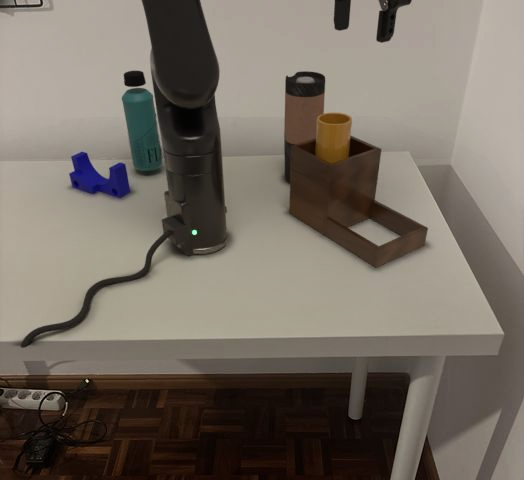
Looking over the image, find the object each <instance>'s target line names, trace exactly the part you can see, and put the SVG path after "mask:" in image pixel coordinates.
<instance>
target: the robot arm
mask: <svg viewBox="0 0 524 480" xmlns="http://www.w3.org/2000/svg"><path fill="white" fill-rule="evenodd" d="M201 1H202V0H141V3H142V7H143V11H144V15H145V20H146V25H147V30H148V35H149V41H150V46H151V48H150V54H149V66H150V74H151V82H152V89H153V97H154V104H155V111H156V119H157V122H158V123H157V125H158V130H159V133H160V134H159V135H160V139H161V148H162V154H163V161H164V167H165V176H166V183H167V190H165V191H164V193H163V196H164V204H165V210H166V211H165V212H166V217H164V218H162V219H161V226H162V234H161V235H160V236H159V237H158V238H157V239H156V240H155V241H154V242H153V243H152V245H151V246H150V247H149V249H148V251H147V252H146V255H145V261H144V266H143V267H142V269H141V270H139V271H138V272H136V273H134V274H130V275H125V276H116V277H109V278H104V279H101V280H99V281H96V282H94V284H93V285H91V286H90V287H89V288H88V290H87V291H86V293H85V296H84V299H83V303H82V307H81V309H80V311H79V312H78V313H77V314H76V315H75V316H74V317H73V318H71V319H70V320H67V321H64V322H59V323H52V324H51V323H50V324H46V325H42V326H39V327H37V328H35V329H32V331H30V332H29V333H28V334H27V335H26V336H25V337H24V338H23V340H22V342H21V343H20V348H22V349H24V348H27V347H28V346H29V345H30V343H32V341H33V340H34V339H35V338H36V337H38V336H40V335H43V334H45V333H50V332H56V331H62V330H65V329H69V328H71V327H74V326H76V325H77V324H79V323H80V322H81V321H83V319H85V317H86V315H87V314H88V312H89V309H90V306H91V302H92V297H93V296H94V294H95V293H96V292H97V291H98V290H100V289H101V288H103V287H105V286H108V285H114V284H115V285H116V284H122V283H127V282H132V281H136V280H139V279H141V278H142V277H144V276H145V275H146V274H147V273H148V272H149V271H150V269H151V267H152V260H153V257H154V254H155V253H156V251H157V249H159V247H160V246H161V245H162V244H163V243H164V242H166V240H167V239H168V240H169V241H170V242H171V244H173V245H174V246H175V247H176V248H177V249H178V250H180V252H181V253H182V254H184V255H185V256H187V257H190V256H192V255H207V254H211V253H214V252H218V251H219V250H222V249H223V248H224V247H225V246H226V245H227V244H228V241H229V236H228V227H227V214H228V210H227V209H228V207H227V206H226V197H225V180H224V164H223V149H222V134H221V131H222V130H221V126H220V121H219V116H218V111H217V104H216V92H217V89H218V86H219V81H220V72H221V71H220V70H221V69H220V63H219V60H218V56H217V53H216V50H215V47H214V43H213V41H212V37H211V34H210V30H209V27H208V24H207V20H206V17H205V13H204V10H203V6H202V2H201ZM411 3H412V0H378V4H379V6H380V9H381V10H379V11H378V12H379V13H378V20H377V27H376V28H377V29H376V35H375V36H376V38H375V40H376V42H378V43H380V44H382V43H388V42H390V41H391V40H392V38H393V37H394V34H395V29H396V21H397V14H398V9H400V8H402V7H405V6H409V5H411ZM351 4H352V0H334V9H333V24H334V25H333V27H334V28H333V29H334V30H336V31H338V32H339V31H345V30H348V29H349V27H350V17H351Z"/></svg>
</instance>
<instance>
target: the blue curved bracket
mask: <svg viewBox="0 0 524 480" xmlns="http://www.w3.org/2000/svg"><path fill="white" fill-rule="evenodd" d="M70 158H71V162H72V165H73V171H71V172H69V173H68V174H69V178H70V179H69V180H70V182H71V186H72V188H73V189H76V190H80V191H81V192H82V191H83V192H86V193H89V194H91V195H94V194H97V193H98V192H100V193H103V194H106V195H109V196H111V197H112V196H113V197H115V198H118V199H121V198H123V197H125V196H127V195H128V194H130V193H131V186H130V181H129V176H128V170H127V164H126V163H124V162H121V161H119V162H117V163H116V164H114V165H112V166H110V167H108V170H109V171H108V172H109V176H108V178H106V177H104V176H103V175H101V174H100V173H99V172H98V171H97V170H96V168H95V167H94V165H93V164H92V162H91V160H90V158H89V154H88V152H87V151H86V152H85V151H80V152H77V153H76V154H73V155H71V156H70Z"/></svg>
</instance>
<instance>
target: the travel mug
mask: <svg viewBox="0 0 524 480" xmlns="http://www.w3.org/2000/svg"><path fill="white" fill-rule="evenodd" d="M284 83H285V85H284V86H285V87H284V130H283V131H284V132H283V138H284V139H283V144H284V145H283V150H284V151H283V152H284V153H283V154H284V179H285V182H286V183H288V184H289V185H290V161H291V146H292V145H296V144H299V143H302V142H306V141H309V140H312V139H315V138H316V126H317V117H318V116H319V115H321V114H325V97H326V96H325V94H326V93H325V92H326V76H325V75H324V74H322V73H320V72H316V71H308V70H307V71H303V70H302V71H297V72H295V73H294V75H292V76H288V75H286V76H285V82H284Z"/></svg>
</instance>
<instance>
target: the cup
mask: <svg viewBox="0 0 524 480" xmlns="http://www.w3.org/2000/svg"><path fill="white" fill-rule="evenodd" d="M352 124H353V118H352V116H351V115H348V114H347V113H341V112H326V113H325V112H324V114H321V115H319V116H318V117H317V126H316V146H315V156H317V157H319V158H321V159H323V160H325V161H327V162H329V163H334V162H337V161H340V160H343V159H346V158H349V147H350V136H352V135H351V134H352Z"/></svg>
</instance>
